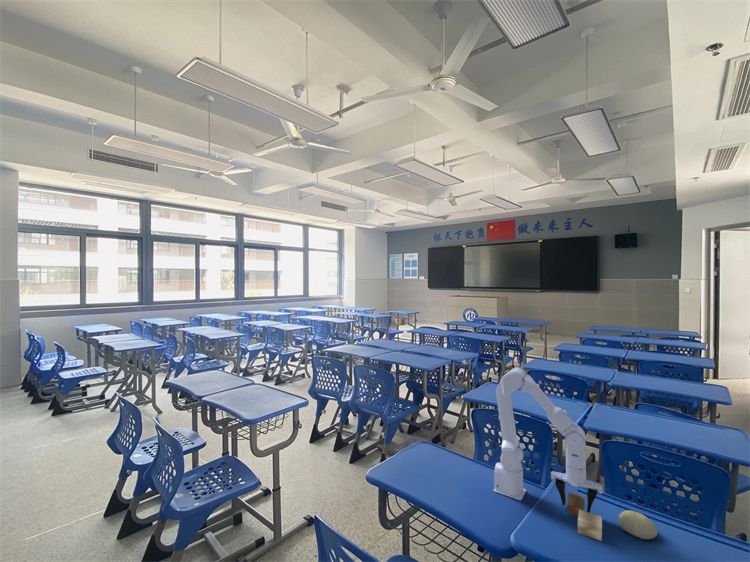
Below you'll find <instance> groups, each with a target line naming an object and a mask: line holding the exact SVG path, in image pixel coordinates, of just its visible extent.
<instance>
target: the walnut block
mask: <svg viewBox="0 0 750 562" xmlns="http://www.w3.org/2000/svg"><path fill="white" fill-rule="evenodd" d="M566 498H567V501H566V503H567V505H566V507H567V510H566V512H567V514H569V515H571V516H575V517H578V514H579V510H582V511H585V512H586V504H585V503H586V502H585V501H586V499H585V498H586V496H585V495H583V494H578V493H575V492H572V491H569V492H568V494H567V497H566Z"/></svg>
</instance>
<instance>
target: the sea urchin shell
mask: <svg viewBox="0 0 750 562" xmlns="http://www.w3.org/2000/svg"><path fill="white" fill-rule="evenodd" d="M618 522H619V526H620V528H621V529H623V531H625V532H627V533H628V534H629V535H632V536H634V537H635V538H639V539H643V540H652V539H654V538H655V537H657V536H658V528H657V527H656V526H655V524H654V522H652V520H651V519H650V518H648V517H647V516H646V515H644V514H642V513H640V512H637V511H635V510H624V511H622V512H621V513H619V516H618Z"/></svg>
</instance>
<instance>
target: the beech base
mask: <svg viewBox="0 0 750 562" xmlns="http://www.w3.org/2000/svg"><path fill="white" fill-rule="evenodd" d="M577 533H578V534H581V535H583V536H587V537H589V538H592V539H594V540H598V541H603V538H602V537H603V517H602V516H601V515H597V514H594V513H592V512H590V513H588V512H587V511H586V510H585V511H582V510H579V514H578V516H577Z"/></svg>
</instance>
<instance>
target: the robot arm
mask: <svg viewBox="0 0 750 562" xmlns="http://www.w3.org/2000/svg"><path fill="white" fill-rule="evenodd" d="M519 389H520V390H519ZM517 390H519V391H520V392H522V393H525V394H529V395H530V396H531V397H532V398H533V399H534V400H535V401H536V402H537V403H538V404H539V405H540V406H541V407H542V408H543V410H544V411H545V412H547V413H546V417H547V419H548V420H549V422H550V423H551V424H552V425H553V427H554V428H555V429H556V430H557V431H558V432H559V434H561V436H563V437H564V442H565V444H566V449H565V472H559V471H558V472H557V471H551V472H550V479H551V480H553V481H554V480H555V483H554V484H555V487H556V489H557V491H558V493H559V496H560V499H561V505H563V506H565V505H566V503H567V501H566V498H567V497H566V484H570V486H572V487H575V488H579V487H580V488H583V489H587V492H586V496H587V508H586V512H588V513H591V507H592V505H593V503H594V502H595V499H596V498H597V496H598V494H601V495H603V485H602V484H600V483H596V482H594V481H592V480H589V479H588V478H587V463H586V462H587V459H586V458H587V457H586V456H587V455H586V444H587V443H586V439H587V438H586V433H585V431H584V429H583V428H582V427H581V426H580V425H578V424H577V423H575V422H574V421H573V420H572V418H570V417H569V416H568V412H567V410H565V409H564V410H563V408H562V407H559V406H555V405H554V403H552V401H551V400H550V399H549V398H548V396H547V395H546V394H545V393H544V391H543V390H542V389H541V387H540V386H539V385H538V384H537V383H536V382H535V380H534V379H533V377H532V376H530V374H527V372H526V370H525V369H524V368H522V367H517V366H516V367H513V368H511V369H510V370H509V371H508V372H507V373H505V374H504V375H503V376H502V377H501V379H500V381H499V383H498V385H497V386H496V388H495V395H496V402H497V411H498V417H499V418H498V419H499V424H500V425H499V426H500V433H501V439H502V442H501V455H500V459H499V460H500V462H496V463H495V467H494V471H493V479H494V480H493V492H494V493H496V494H497V493H498V494H501V495H502V496H507V497H509V498H512V499H515V500H518V501H522V500H523V498H524V496H525V494H526V492H527V489H526V488H524V479H523V478H524V466H523V464H522V462H521V461H522V460H523V458H524V456H525V455H524V451H523V449H522V447H521V445H520V440H519V439H518V436H517V430H516V423H515V416H514V410H513V409H514V408H513V402H512V393H513V392H514V391H517Z"/></svg>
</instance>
